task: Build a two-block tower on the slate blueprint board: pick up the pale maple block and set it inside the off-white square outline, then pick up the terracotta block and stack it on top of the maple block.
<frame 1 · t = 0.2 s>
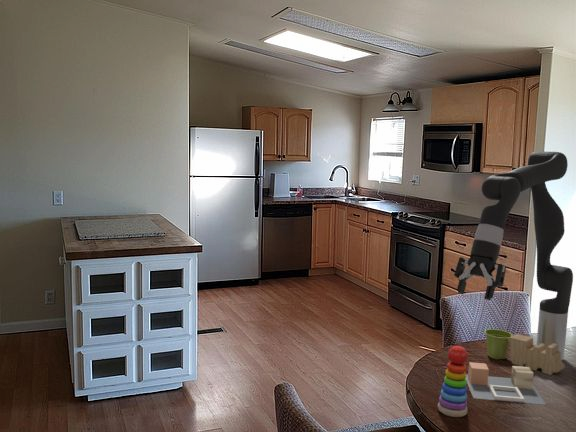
hand: (473, 296, 159), 31 cm above the table, tool tilted 20°, fingers open, 8 cm apart
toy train: (534, 370, 187), on the table
stacking toy: (452, 412, 154), on the table
terracotta block: (477, 381, 173), point 1 cm above the table, touching blueprint board
maple block: (521, 385, 171), point 1 cm above the table, touching blueprint board
plant pot: (496, 357, 198), on the table
blueprint board: (502, 391, 168), on the table
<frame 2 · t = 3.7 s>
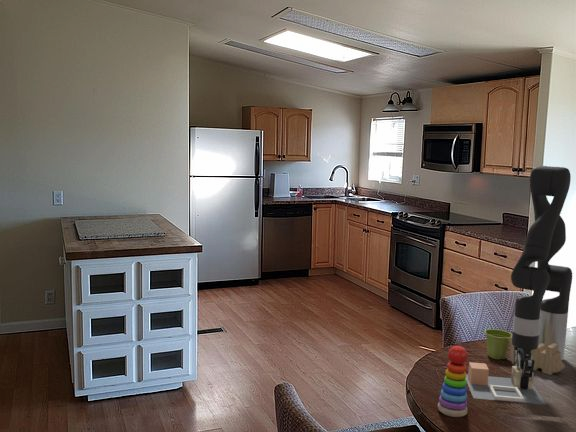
hand: (521, 384, 171), 1 cm above the table, tool pointing down, fingers closed on maple block, 5 cm apart
maple block: (521, 385, 171), point 1 cm above the table, touching blueprint board, gripper
everything else where it was.
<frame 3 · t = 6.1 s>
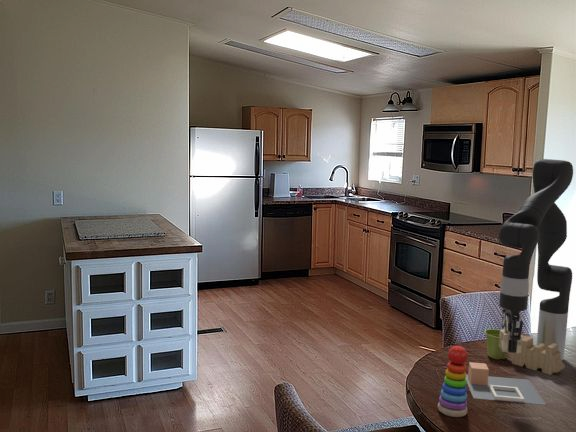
hand: (509, 348, 162), 15 cm above the table, tool pointing down, fingers closed on maple block, 5 cm apart
maple block: (509, 349, 162), point 15 cm above the table, touching gripper
everything else where it was.
when the fingers open (3 cm above the table, at t = 8.7 s): maple block drops 2 cm, resting on blueprint board.
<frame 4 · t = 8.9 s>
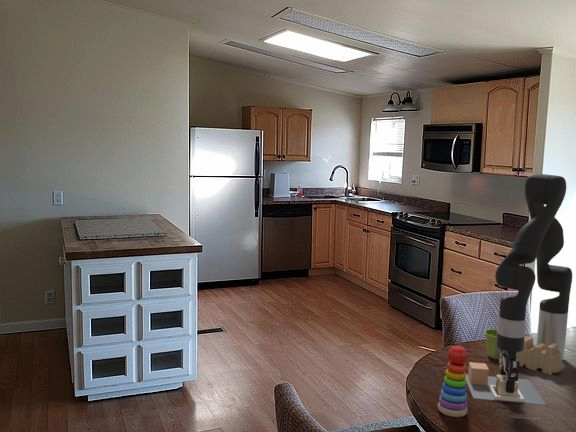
hand: (506, 387, 163), 3 cm above the table, tool pointing down, fingers open, 6 cm apart
maple block: (505, 394, 164), point 1 cm above the table, touching blueprint board
everything else where it was.
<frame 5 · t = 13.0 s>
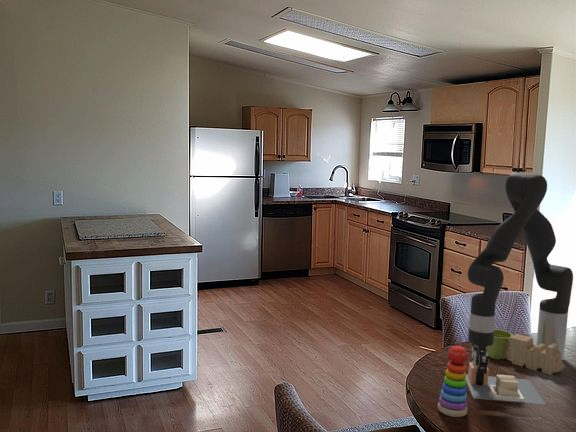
hand: (477, 380, 173), 1 cm above the table, tool pointing down, fingers closed on terracotta block, 5 cm apart
terracotta block: (477, 381, 173), point 1 cm above the table, touching blueprint board, gripper
everything else where it was.
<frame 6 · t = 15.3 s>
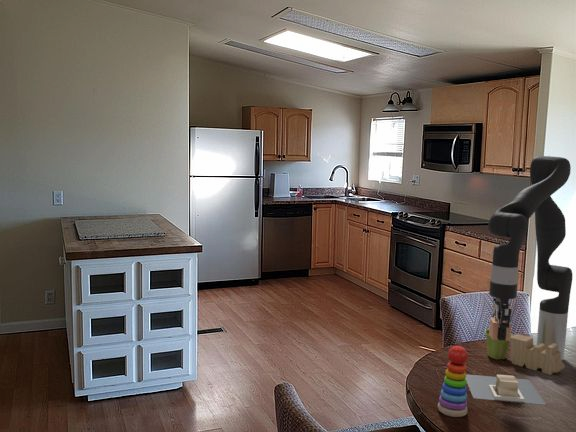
hand: (499, 336, 165), 18 cm above the table, tool pointing down, fingers closed on terracotta block, 5 cm apart
terracotta block: (499, 337, 165), point 17 cm above the table, touching gripper
everything else where it was.
when the fingers open (7 cm above the table, at t = 17.9 s): terracotta block drops 1 cm, resting on maple block.
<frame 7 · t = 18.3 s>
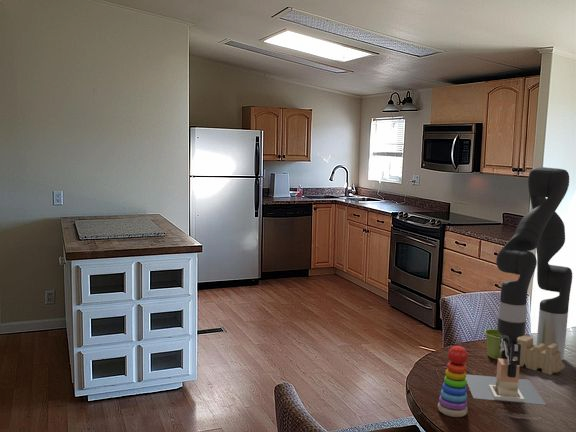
hand: (507, 371, 163), 8 cm above the table, tool pointing down, fingers open, 8 cm apart
terracotta block: (507, 378, 163), point 6 cm above the table, touching maple block
maple block: (505, 394, 164), point 1 cm above the table, touching blueprint board, terracotta block
everything else where it was.
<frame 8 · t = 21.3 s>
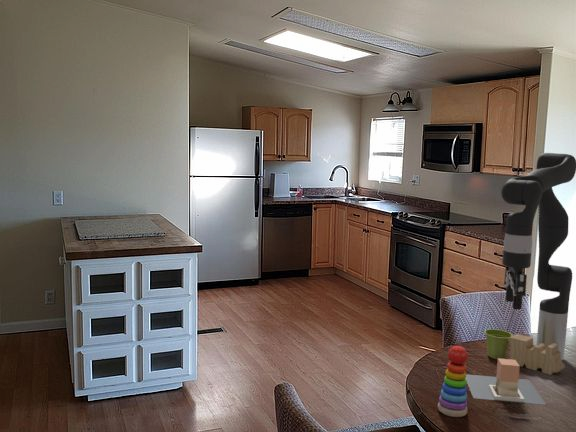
hand: (513, 305, 161), 28 cm above the table, tool pointing down, fingers open, 8 cm apart
nothing on the table moved.
at the end: maple block 0.0 cm from the target spot, point 1.0 cm above the table; terracotta block 0.0 cm off-centre on the maple block, point 5.0 cm above the maple block's base; terracotta block tilted 0° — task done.
